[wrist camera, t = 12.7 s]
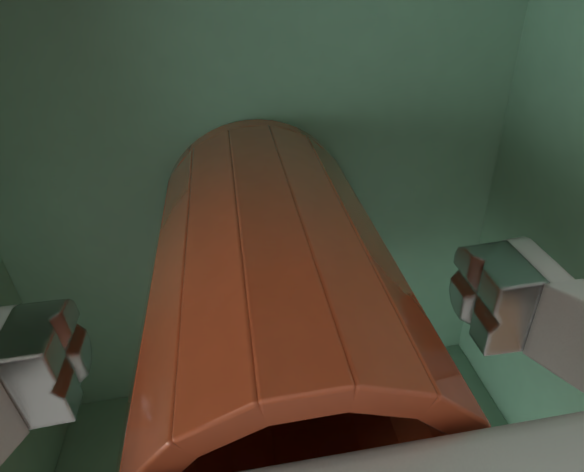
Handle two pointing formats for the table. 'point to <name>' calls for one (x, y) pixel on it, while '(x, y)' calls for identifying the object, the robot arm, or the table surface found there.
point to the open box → (306, 116)
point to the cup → (278, 319)
